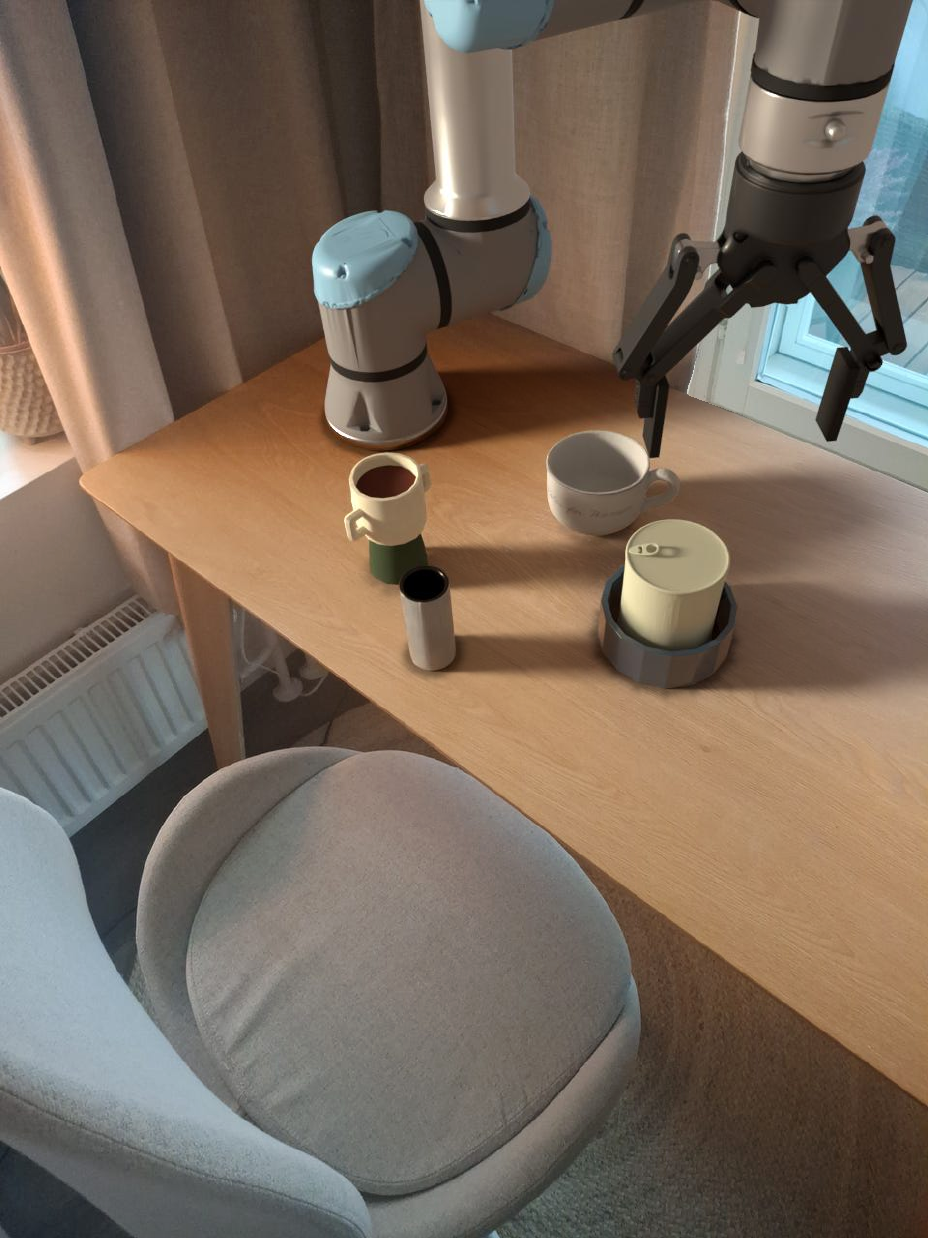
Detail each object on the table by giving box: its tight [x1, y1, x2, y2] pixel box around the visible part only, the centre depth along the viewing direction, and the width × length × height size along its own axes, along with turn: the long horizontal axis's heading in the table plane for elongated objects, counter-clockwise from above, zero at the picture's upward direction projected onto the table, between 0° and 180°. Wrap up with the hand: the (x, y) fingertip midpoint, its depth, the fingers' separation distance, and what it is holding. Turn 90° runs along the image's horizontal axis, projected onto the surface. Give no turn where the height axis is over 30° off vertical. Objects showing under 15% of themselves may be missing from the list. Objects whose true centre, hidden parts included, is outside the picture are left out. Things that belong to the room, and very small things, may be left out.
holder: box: [597, 564, 739, 689], centre depth 87 cm, size 12×12×5 cm
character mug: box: [344, 451, 432, 586], centre depth 92 cm, size 11×7×13 cm, turn 135°
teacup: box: [545, 429, 681, 537], centre depth 97 cm, size 14×11×8 cm
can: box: [616, 518, 731, 651], centre depth 84 cm, size 9×9×12 cm
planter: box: [398, 564, 457, 671], centre depth 85 cm, size 4×4×10 cm
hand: (738, 438), depth 70 cm, fingers open, 13 cm apart
